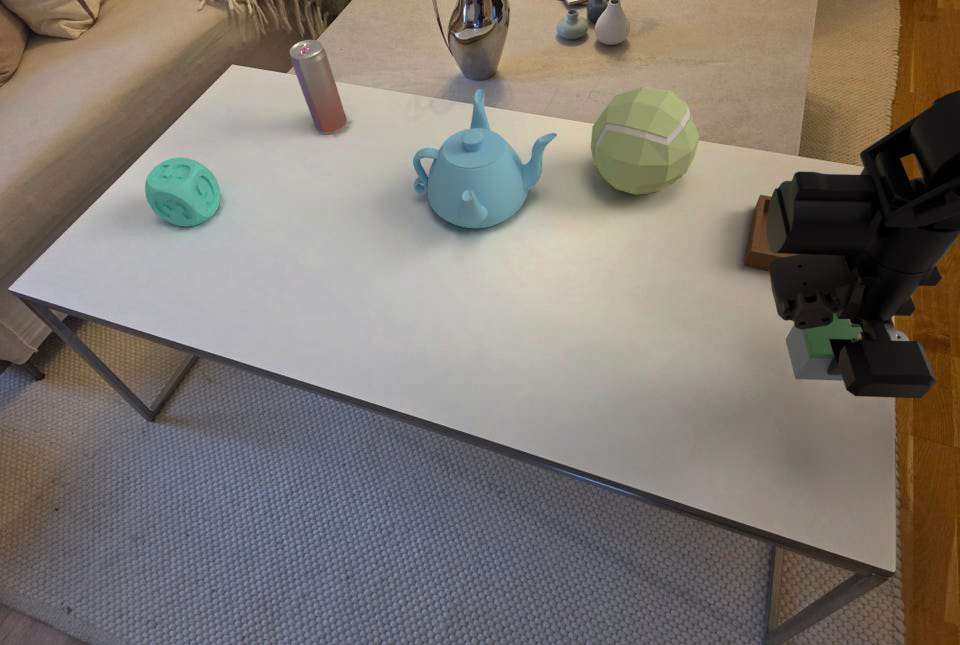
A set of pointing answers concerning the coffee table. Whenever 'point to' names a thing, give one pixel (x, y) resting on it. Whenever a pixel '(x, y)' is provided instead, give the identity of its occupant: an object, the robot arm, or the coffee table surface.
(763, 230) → the tray
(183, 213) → the decorative dice
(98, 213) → the coffee table surface
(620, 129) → the tennis ball
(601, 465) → the coffee table surface
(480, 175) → the teapot
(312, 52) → the beverage can
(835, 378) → the container
